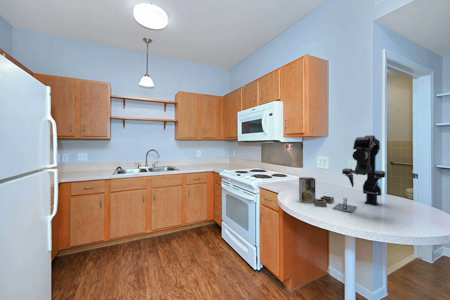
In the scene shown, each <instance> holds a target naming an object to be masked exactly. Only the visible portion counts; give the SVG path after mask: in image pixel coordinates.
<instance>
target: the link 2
mask: <svg viewBox="0 0 450 300" xmlns="http://www.w3.org/2000/svg"><path fill="white" fill-rule="evenodd" d="M320 199H323V200H325V201H326V202H327V204H330V205H332V204H333V203H334V202H335V197H334V196H328V195H322V196H320Z"/></svg>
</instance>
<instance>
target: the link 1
mask: <svg viewBox="0 0 450 300" xmlns="http://www.w3.org/2000/svg"><path fill="white" fill-rule="evenodd" d="M327 204H328V203H327V202H326V201H325V200H323V199H321V198H315V199H314V203H313V205H314V207H320V208H321V207H322V208H327V206H328V205H327Z"/></svg>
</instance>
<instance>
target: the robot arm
mask: <svg viewBox="0 0 450 300" xmlns="http://www.w3.org/2000/svg"><path fill="white" fill-rule="evenodd" d="M352 150H355V151H354V152H353V153H352V159H353V160H354V161H356V165H355V168H354V169H352V168H347V167H346V168H343V169H342V171H341V172H342V174H343V175H345V177H347V178H348V179H349V183H350V184H351V187H352V188H354V186H355V185H354V184H355V183H354V174H355V175H357V176H358V175H362V176H366V180H365V181H364V182H363V184H362V192H363V194H365V201H364V204H367V205H373V206H378V205H379V202H378V196H382V189H381V187H380V184H379V180H382V178H386V171H384V170H376V169H377V167H376V164H377V161H376V159H377V155H378V154H379V152H380V150H381V142H380V140H379V139H377V138H376V135H373V134H372V135H364V136H362V137H361V136H360V137H359V136H358V137H356V138H355V139H354V142H353V148H352Z"/></svg>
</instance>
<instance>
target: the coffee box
mask: <svg viewBox="0 0 450 300" xmlns="http://www.w3.org/2000/svg"><path fill="white" fill-rule="evenodd" d="M314 199H316V178H314V177H310V176H309V177H308V176H307V177H306V176H304V177H298V200H300V201H299V202H300V203H301V204H314Z"/></svg>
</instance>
